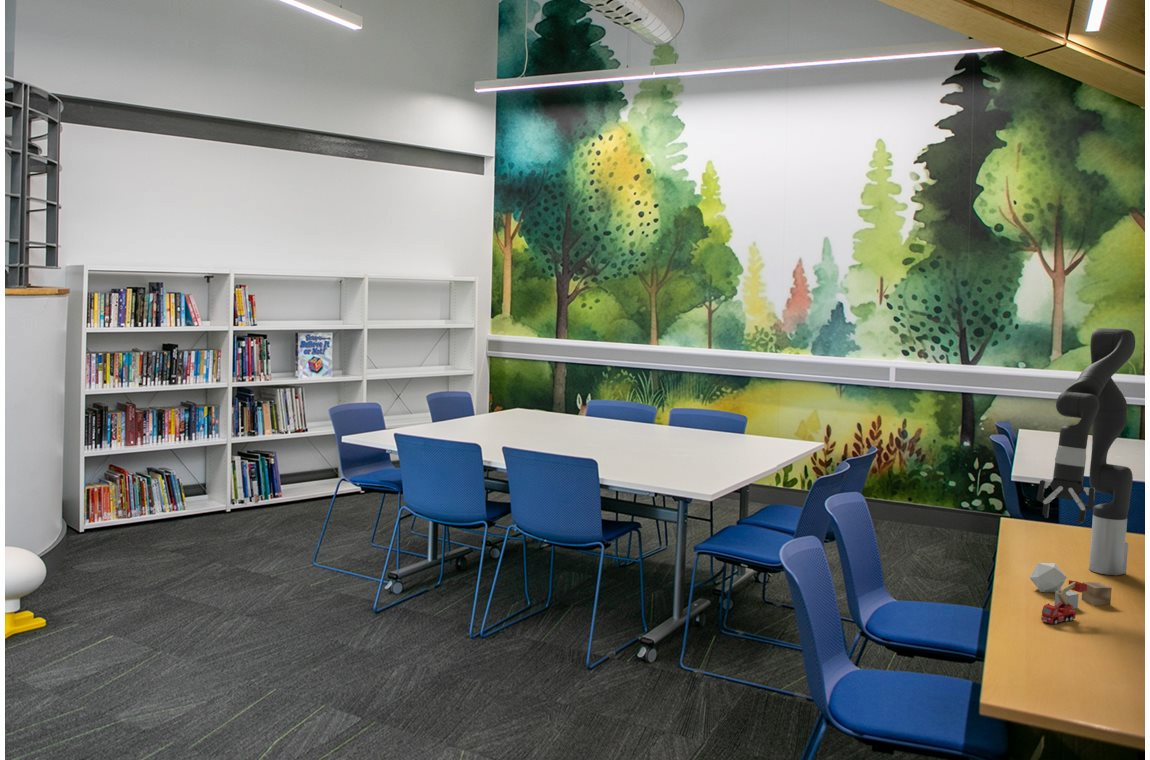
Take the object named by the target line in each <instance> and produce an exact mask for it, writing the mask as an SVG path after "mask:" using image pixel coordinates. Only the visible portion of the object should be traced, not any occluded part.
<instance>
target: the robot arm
mask: <svg viewBox="0 0 1150 760" xmlns="http://www.w3.org/2000/svg"><path fill="white" fill-rule="evenodd" d="M1089 345H1090V346H1089V347H1090V363H1091V364H1089V365H1088V366H1086V368H1085V369H1083V371H1082V372H1081V373H1080V374H1079V376H1078V378H1077V379H1076V381H1075V382H1073V383H1072V384H1071V385H1070V386H1068V387H1066V389H1064V390H1063V391H1062V392H1060V394H1059V395H1058V397H1057V398H1056V403H1055V409H1056V411H1057V413H1058V414H1059V415H1061V416H1063V417H1068V418H1078V419H1080V420H1079V421H1078V423H1077V424H1071V425H1070V424H1069V425H1063V426H1062V427H1061V428H1060V430H1059V439H1058V446H1057V449H1056V452H1055V453H1056V454H1055V458H1054V470H1053V475H1052V481H1048V480H1045V479H1041V480H1040V481H1039V484H1038V490H1037V494H1036V501H1037V502H1038V501H1039V502H1041V503H1042V516H1044V518H1046V519H1048V518H1049V516H1050V514H1049V513H1050V506H1051V504H1050V503H1051V502H1052V501H1053V500H1054V499H1055V498H1058V499H1060V500H1061V499H1066V500H1068V501H1073V500H1074V501H1075V503H1076V504H1077V506H1078V507H1079V512H1078V519H1077V523H1078V524H1082V523H1084V522H1085V520H1086V514H1087V511H1088V510H1092V524H1091V537H1090V538H1091V539H1090V551H1089V562H1088V563H1089V564H1088V569H1089V570H1090V571H1091V572H1093V573H1096V574H1101V575H1107V576H1108V575H1109V576H1121V575H1123V574H1127V570H1128V569H1127V568H1128V566H1127V565H1128V556H1129V555H1128V553H1129V542H1127V541H1126V540H1127V539H1126V538H1127V526H1128V514H1129V510H1130V503H1131V495H1132V490H1133V489H1132V487H1133V481H1134V479H1133V472H1132V469H1131V468H1130V467H1128V466H1123V465H1117V464H1111V463H1107V460H1108V454H1109V450H1110V448H1111V446H1112V444H1113V443H1114V442H1115V440H1116V439H1118V437H1119V436H1120V435H1121V434H1122V432H1123V431H1124V429H1125V427H1126V425H1127V420H1128V416H1127V415H1128V403H1127V399H1126V397H1125V395H1124V394H1123V392H1122V391H1121V390H1120V388H1119V387H1118V385H1117V384H1116V383H1115V380H1114V379H1113V376H1114V375H1116V373H1117V372H1118V371H1119V370H1120V369H1121V368H1122V367H1123V366H1124V365H1125V364H1126V363H1127V361H1129V360H1130V358H1131V357H1132V356H1133V354H1134V352H1135V348H1136V337H1135V334H1134V332H1133V331H1132V330H1130V329H1126V328H1108V327H1107V328H1106V327H1105V328H1104V327H1103V328H1095V329H1094V330H1093V331H1092V333H1091V336H1090V344H1089ZM1091 429H1092V431H1091V433H1092V439H1091V455H1090V463H1089V464H1090V466H1089V477H1088V480H1089V486H1090V487H1085V486H1084V478H1085V469H1086V461H1087V446H1088V438H1089V434H1090V430H1091ZM1049 486H1050V488H1051V490H1052V492H1051V493H1050V494H1049V495H1048V496H1047V497H1046V498H1045V497H1044V495H1045V494H1044V493H1045V490H1046V489H1047V488H1049ZM1083 492H1085V494H1086V496H1088V500H1087V501H1088V503H1087V504H1085V503H1084V501H1083V498H1082V497H1081V496H1080V495H1081V494H1082V493H1083ZM1096 493H1100V494H1104V495H1105V494H1106V495H1110V496H1113V499H1112V500H1111V501H1110V502H1107V503H1099V504H1095V501H1096V500H1095V496H1096Z"/></svg>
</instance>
